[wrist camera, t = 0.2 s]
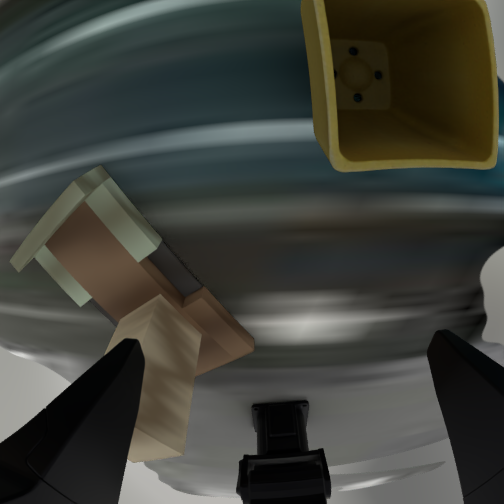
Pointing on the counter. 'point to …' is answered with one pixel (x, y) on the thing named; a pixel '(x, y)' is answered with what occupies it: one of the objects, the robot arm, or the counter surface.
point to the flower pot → (403, 83)
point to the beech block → (161, 378)
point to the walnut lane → (125, 265)
